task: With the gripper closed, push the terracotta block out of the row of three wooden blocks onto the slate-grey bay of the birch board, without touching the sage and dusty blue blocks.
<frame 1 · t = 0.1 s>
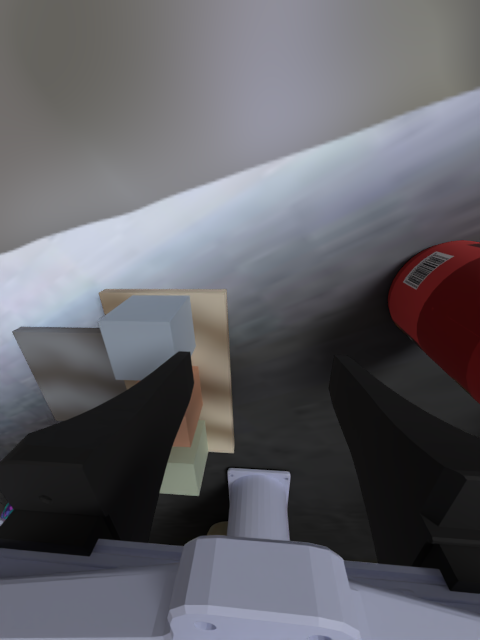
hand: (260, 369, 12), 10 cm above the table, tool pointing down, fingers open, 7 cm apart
sage block: (185, 434, 28), point 1 cm above the table, touching board
blue block: (165, 321, 22), point 1 cm above the table, touching board
canned food: (433, 288, 20), on the table
board: (138, 377, 26), on the table
terracotta block: (176, 385, 25), point 1 cm above the table, touching board
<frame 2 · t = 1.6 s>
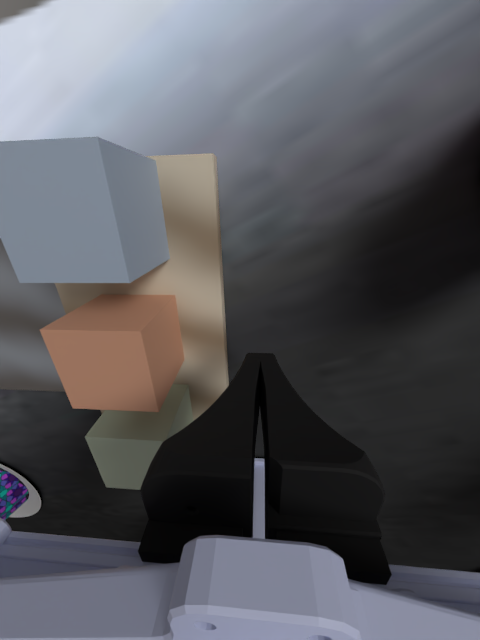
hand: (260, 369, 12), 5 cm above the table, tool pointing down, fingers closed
sage block: (161, 407, 20), point 1 cm above the table, touching board
blue block: (120, 214, 14), point 1 cm above the table, touching board
board: (92, 321, 18), on the table
terracotta block: (145, 328, 17), point 1 cm above the table, touching board
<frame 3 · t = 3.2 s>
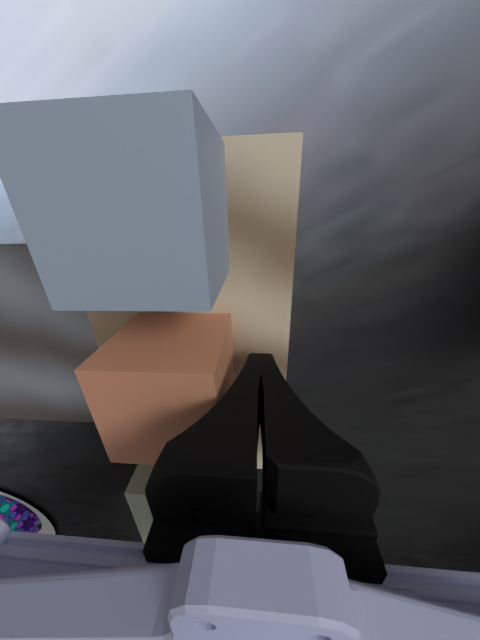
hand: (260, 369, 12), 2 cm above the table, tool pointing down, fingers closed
sage block: (202, 440, 17), point 1 cm above the table, touching board
blue block: (171, 214, 11), point 1 cm above the table, touching board
board: (123, 342, 15), on the table
patterned fedora hat: (7, 509, 27), on the table
terracotta block: (189, 352, 14), point 1 cm above the table, touching gripper
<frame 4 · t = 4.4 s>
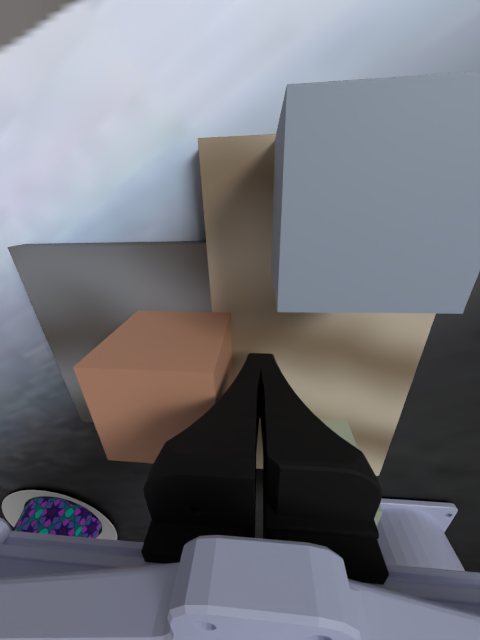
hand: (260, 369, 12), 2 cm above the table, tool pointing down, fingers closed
sage block: (303, 445, 17), point 1 cm above the table, touching board
blue block: (332, 210, 10), point 1 cm above the table, touching board
board: (234, 344, 15), on the table
patterned fedora hat: (67, 514, 26), on the table
terracotta block: (188, 351, 14), point 1 cm above the table, touching gripper
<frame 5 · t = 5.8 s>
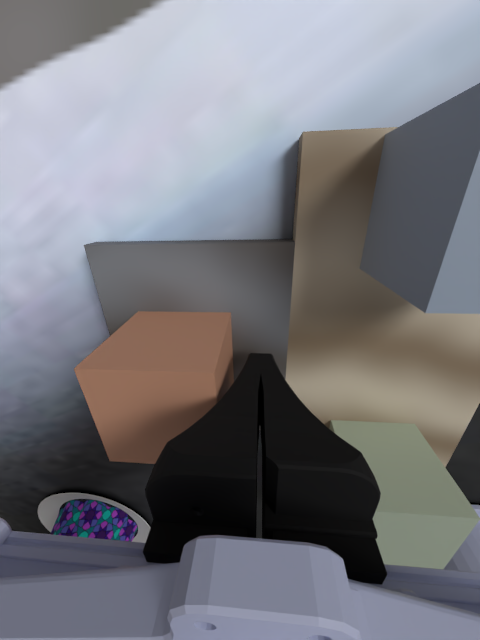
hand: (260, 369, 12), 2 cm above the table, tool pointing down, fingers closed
sage block: (364, 448, 16), point 1 cm above the table, touching board
blue block: (435, 207, 10), point 1 cm above the table, touching board
board: (302, 345, 14), on the table
patterned fedora hat: (101, 516, 26), on the table
terracotta block: (189, 351, 14), point 1 cm above the table, touching board, gripper
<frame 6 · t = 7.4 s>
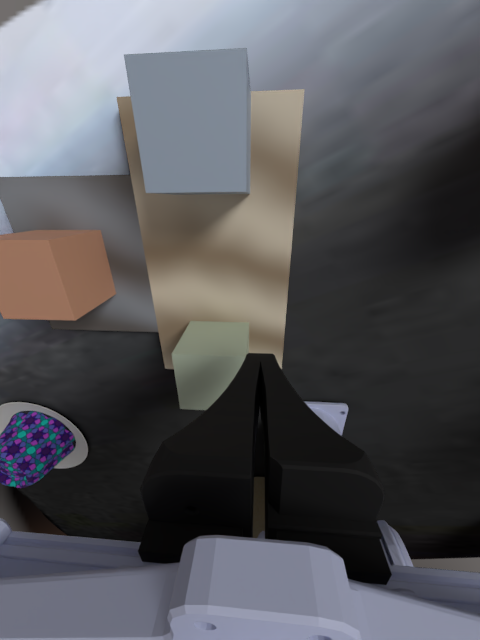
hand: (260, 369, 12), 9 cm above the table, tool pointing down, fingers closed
plant pot: (262, 491, 33), on the table
sage block: (220, 346, 22), point 1 cm above the table, touching board
blue block: (210, 149, 15), point 1 cm above the table, touching board
board: (163, 261, 20), on the table
patterned fedora hat: (46, 431, 31), on the table
terracotta block: (78, 263, 19), point 1 cm above the table, touching board
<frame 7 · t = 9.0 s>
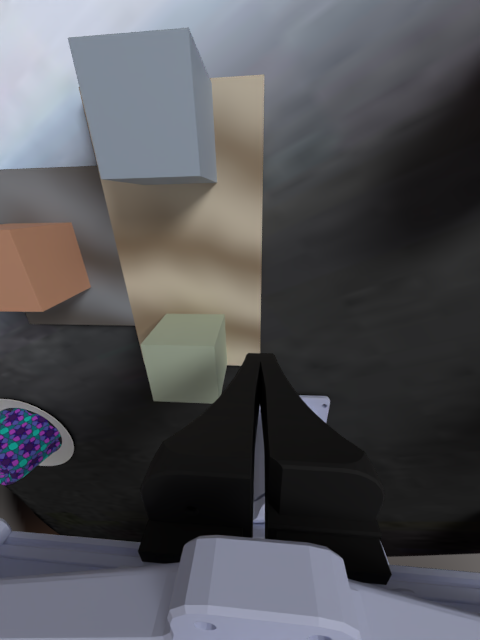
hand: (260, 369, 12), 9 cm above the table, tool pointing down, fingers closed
sage block: (198, 339, 22), point 1 cm above the table, touching board
blue block: (175, 138, 15), point 1 cm above the table, touching board
board: (137, 254, 20), on the table
patterned fedora hat: (32, 428, 31), on the table
terracotta block: (51, 256, 19), point 1 cm above the table, touching board
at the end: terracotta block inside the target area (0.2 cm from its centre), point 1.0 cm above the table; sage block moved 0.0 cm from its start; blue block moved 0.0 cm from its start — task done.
